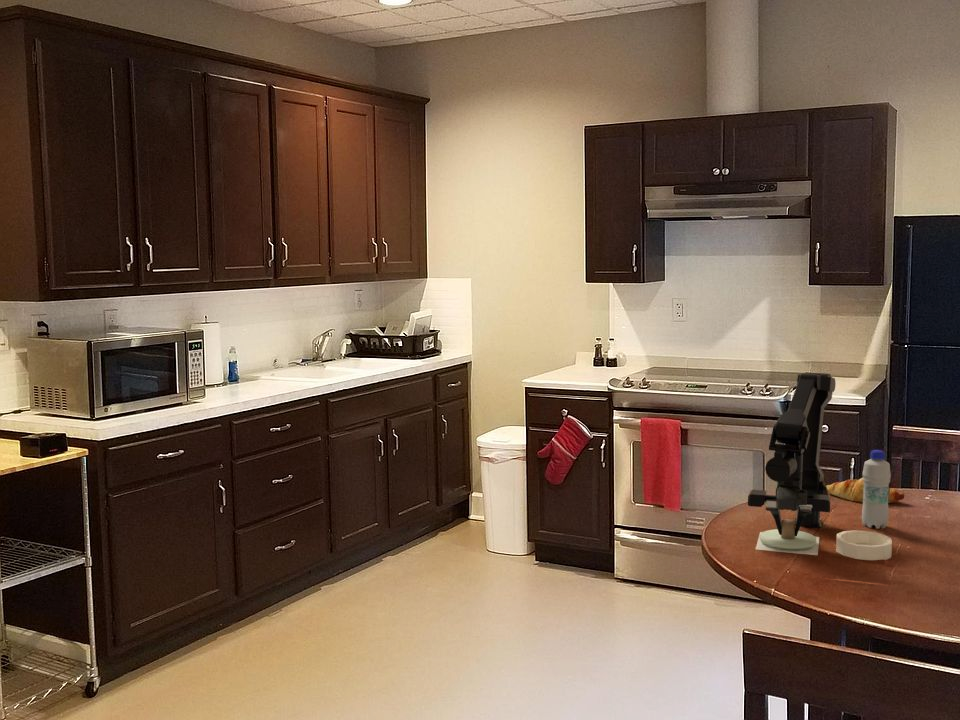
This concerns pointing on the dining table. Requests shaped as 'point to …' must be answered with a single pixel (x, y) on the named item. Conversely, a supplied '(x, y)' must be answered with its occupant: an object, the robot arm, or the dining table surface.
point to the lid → (788, 537)
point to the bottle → (876, 490)
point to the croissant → (858, 491)
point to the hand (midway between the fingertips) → (788, 535)
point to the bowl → (864, 545)
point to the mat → (809, 551)
